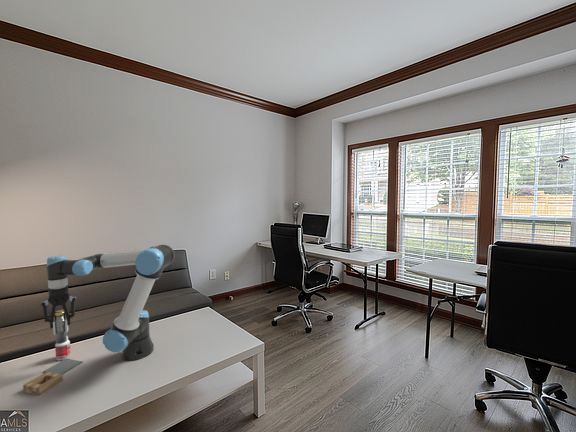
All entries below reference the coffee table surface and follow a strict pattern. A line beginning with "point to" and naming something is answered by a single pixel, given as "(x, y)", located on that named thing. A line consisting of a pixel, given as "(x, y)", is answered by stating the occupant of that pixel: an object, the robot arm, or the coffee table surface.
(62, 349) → the pill bottle
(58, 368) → the rubber mat
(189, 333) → the coffee table surface
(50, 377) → the block
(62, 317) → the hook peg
